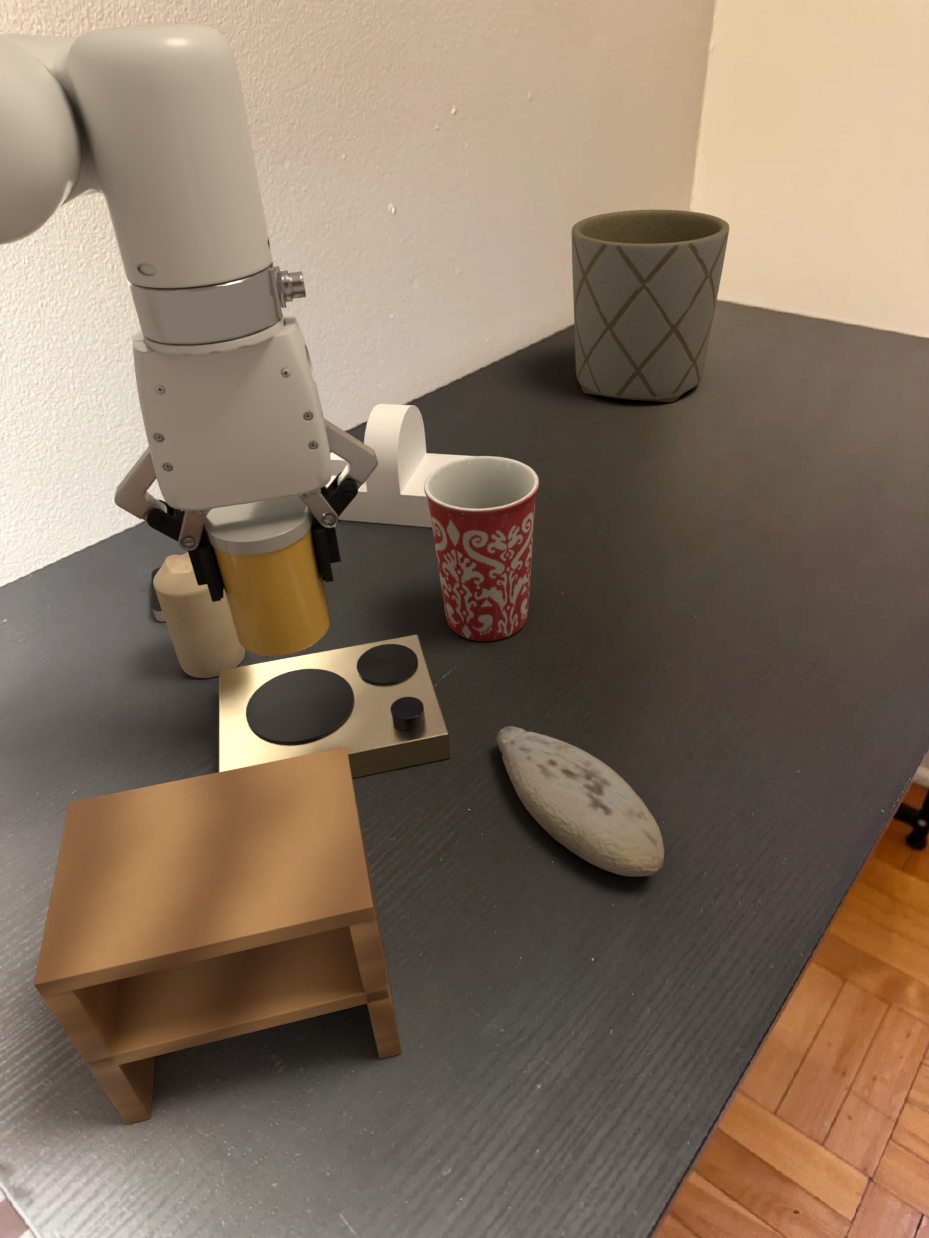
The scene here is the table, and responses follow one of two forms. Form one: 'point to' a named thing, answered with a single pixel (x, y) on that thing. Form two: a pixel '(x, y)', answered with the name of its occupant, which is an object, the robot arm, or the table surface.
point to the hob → (334, 708)
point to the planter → (645, 300)
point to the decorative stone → (582, 803)
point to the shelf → (211, 917)
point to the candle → (196, 620)
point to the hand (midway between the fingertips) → (272, 578)
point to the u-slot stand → (394, 469)
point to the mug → (483, 543)
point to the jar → (270, 574)
